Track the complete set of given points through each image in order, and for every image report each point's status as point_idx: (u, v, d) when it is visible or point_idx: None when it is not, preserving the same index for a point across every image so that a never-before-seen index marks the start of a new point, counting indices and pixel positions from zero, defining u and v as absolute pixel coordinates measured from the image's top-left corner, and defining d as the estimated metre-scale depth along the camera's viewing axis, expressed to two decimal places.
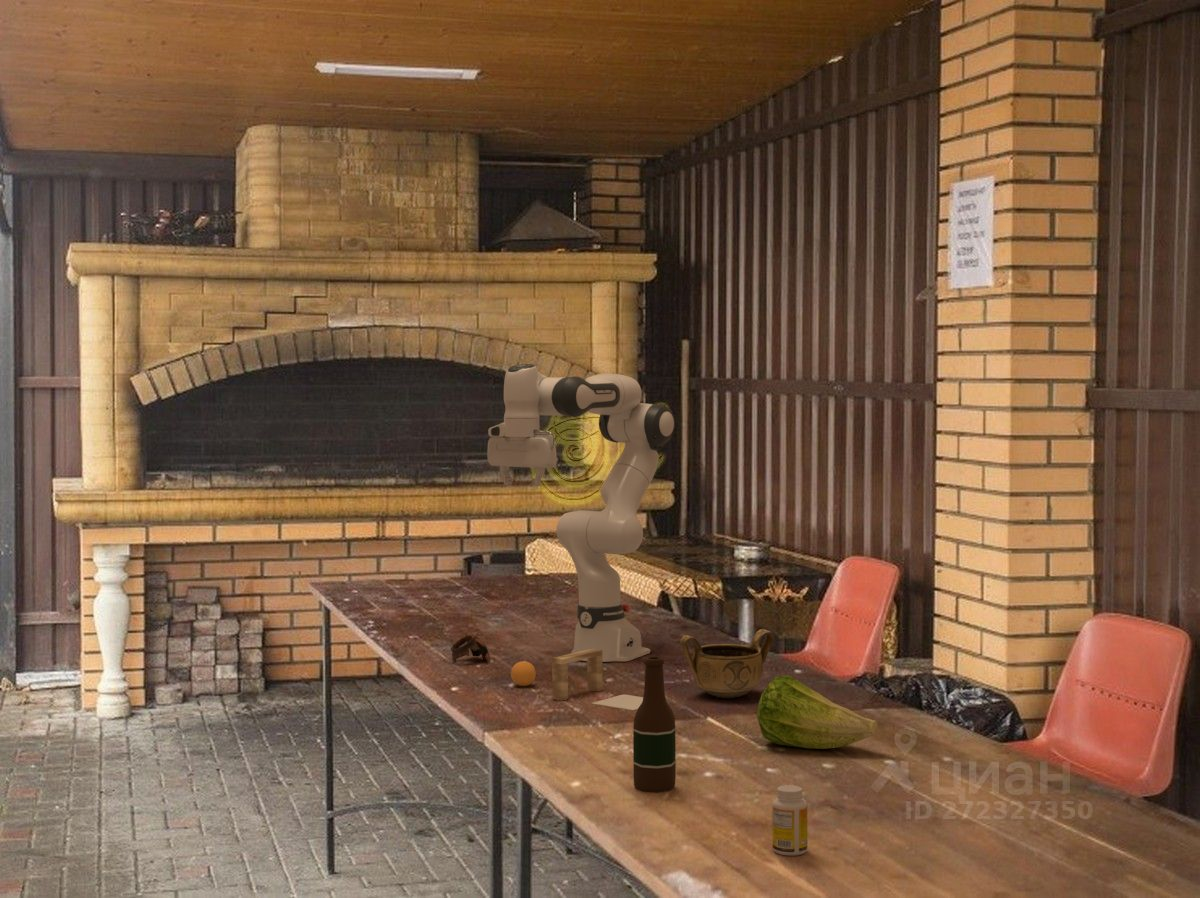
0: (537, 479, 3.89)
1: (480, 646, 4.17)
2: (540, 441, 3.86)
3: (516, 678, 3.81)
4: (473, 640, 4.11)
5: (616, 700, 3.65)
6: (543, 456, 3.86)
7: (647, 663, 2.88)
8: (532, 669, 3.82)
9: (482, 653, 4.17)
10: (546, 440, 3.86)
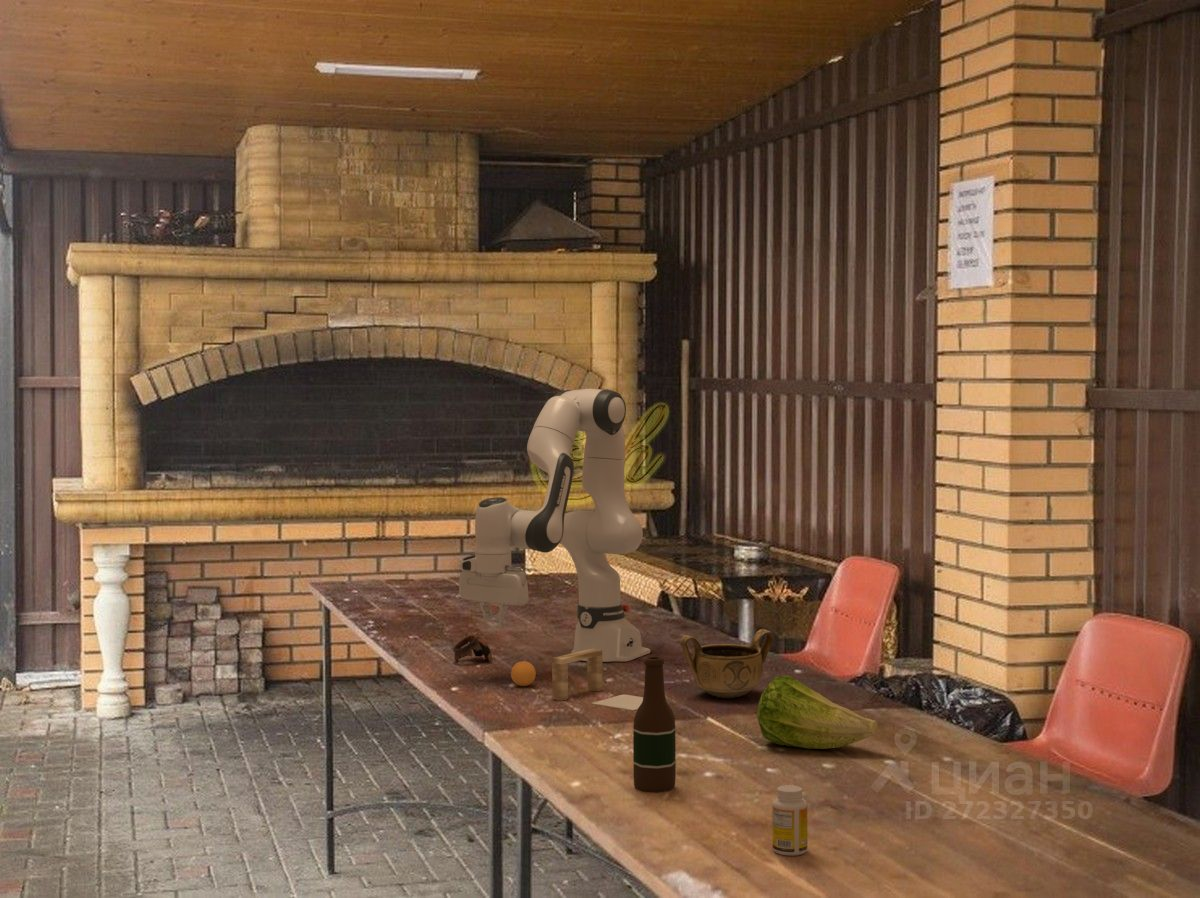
0: (500, 614, 3.86)
1: (482, 646, 4.17)
2: (512, 578, 3.82)
3: (516, 678, 3.81)
4: (476, 640, 4.11)
5: (616, 700, 3.65)
6: (514, 594, 3.81)
7: (647, 663, 2.88)
8: (532, 669, 3.82)
9: (484, 653, 4.17)
10: (517, 577, 3.81)
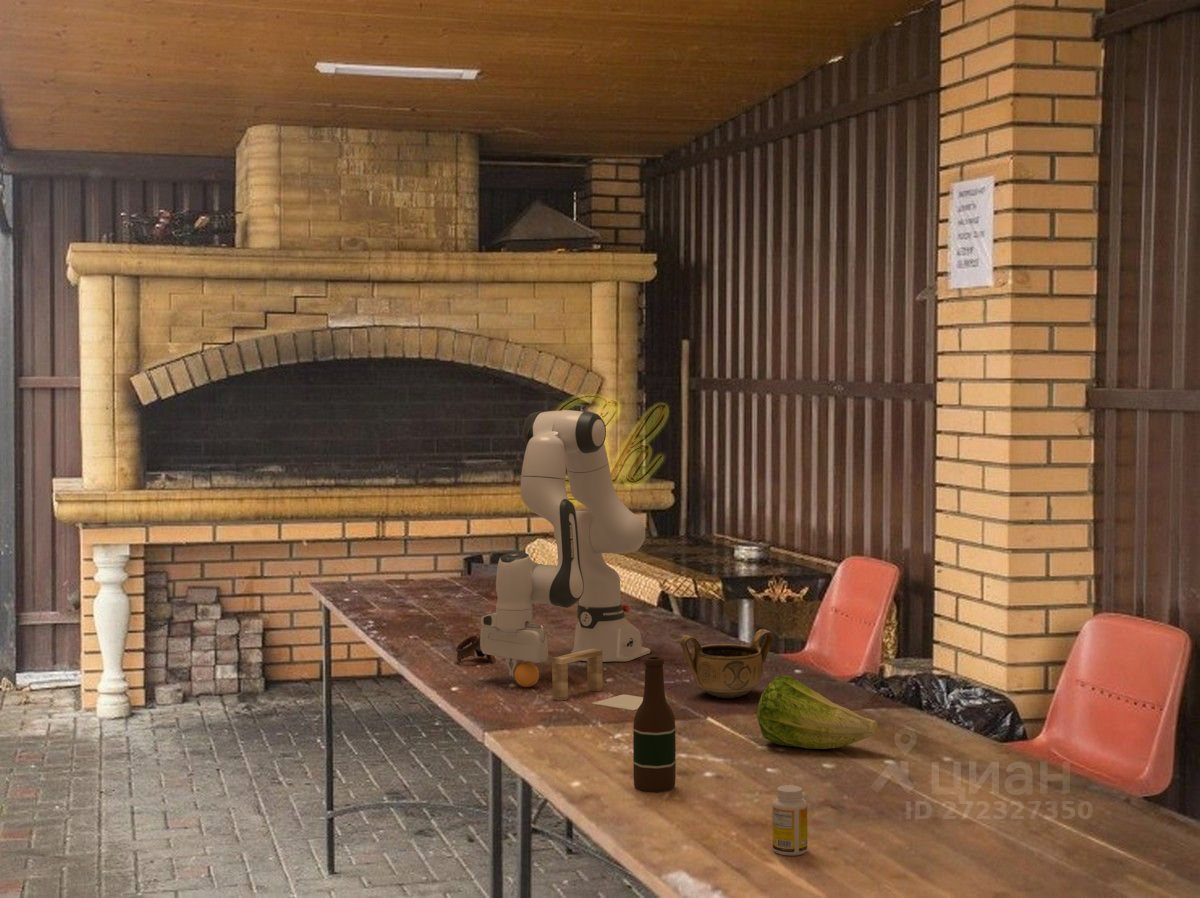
0: (514, 670, 3.83)
1: None
2: (531, 634, 3.77)
3: (520, 680, 3.79)
4: (478, 640, 4.11)
5: (616, 700, 3.65)
6: (533, 651, 3.77)
7: (647, 663, 2.88)
8: (537, 672, 3.80)
9: None
10: (537, 634, 3.77)
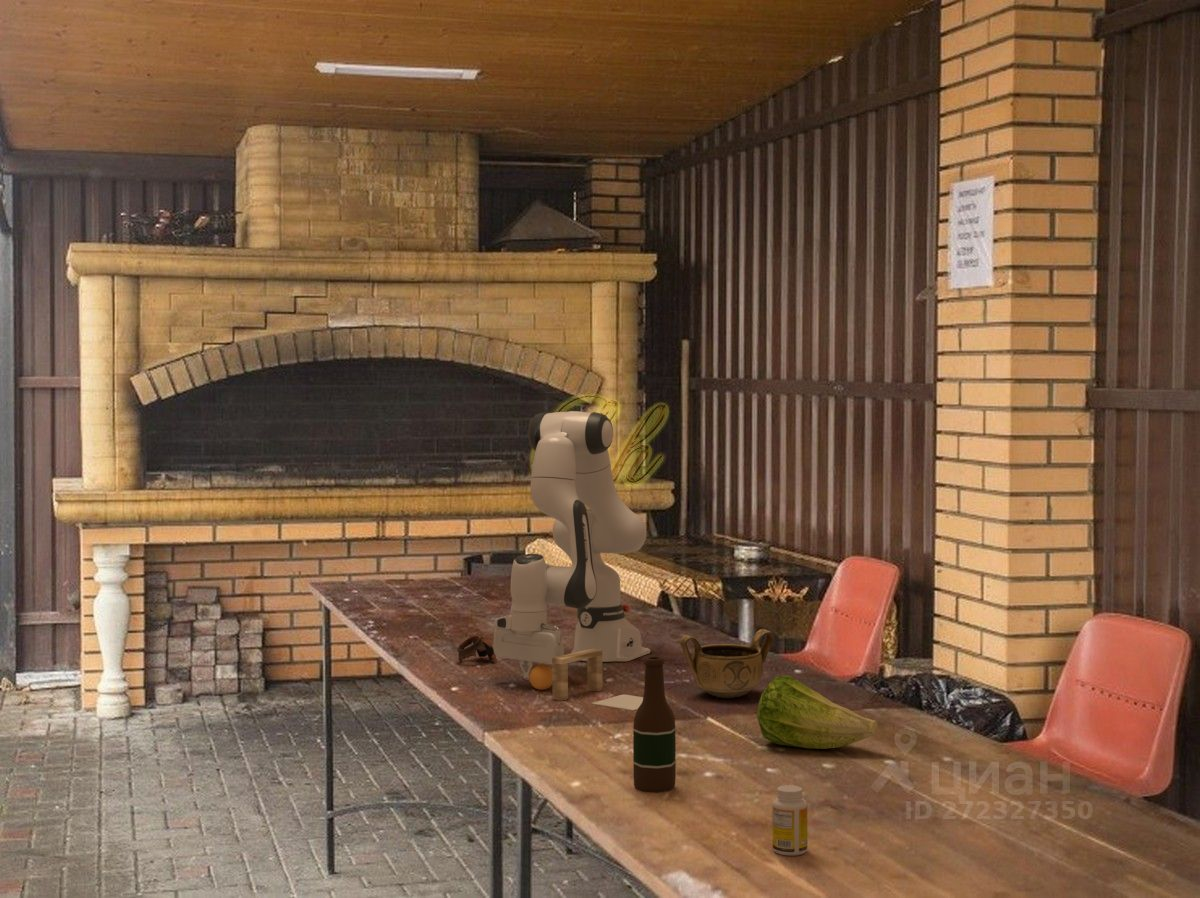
0: None
1: (486, 646, 4.16)
2: (547, 636, 3.74)
3: (535, 683, 3.77)
4: (480, 640, 4.11)
5: (616, 700, 3.65)
6: (549, 653, 3.74)
7: (647, 663, 2.88)
8: (551, 675, 3.77)
9: (488, 653, 4.17)
10: (553, 636, 3.74)
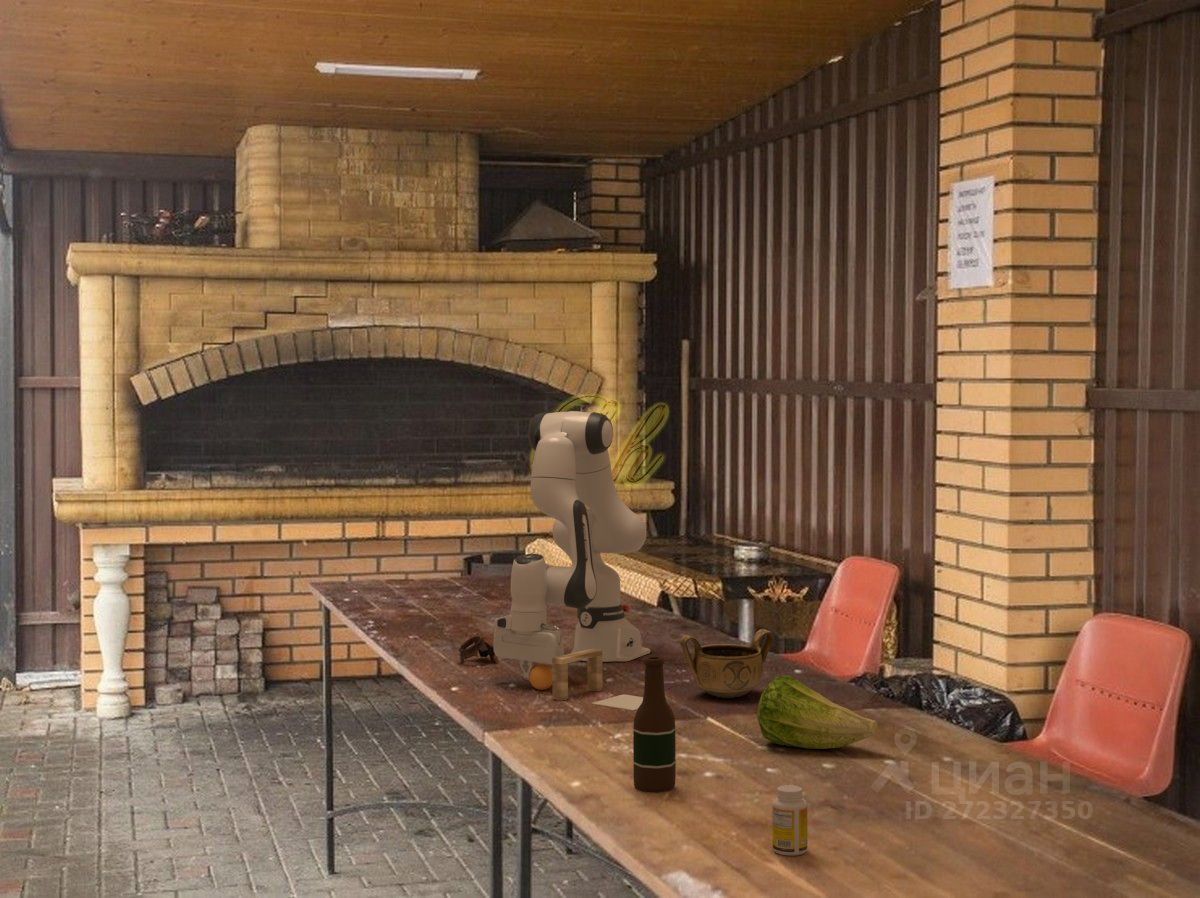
0: None
1: (488, 647, 4.16)
2: (547, 636, 3.74)
3: (535, 683, 3.77)
4: (481, 641, 4.10)
5: (616, 700, 3.65)
6: (549, 653, 3.74)
7: (647, 663, 2.88)
8: None
9: (490, 654, 4.16)
10: (553, 636, 3.74)
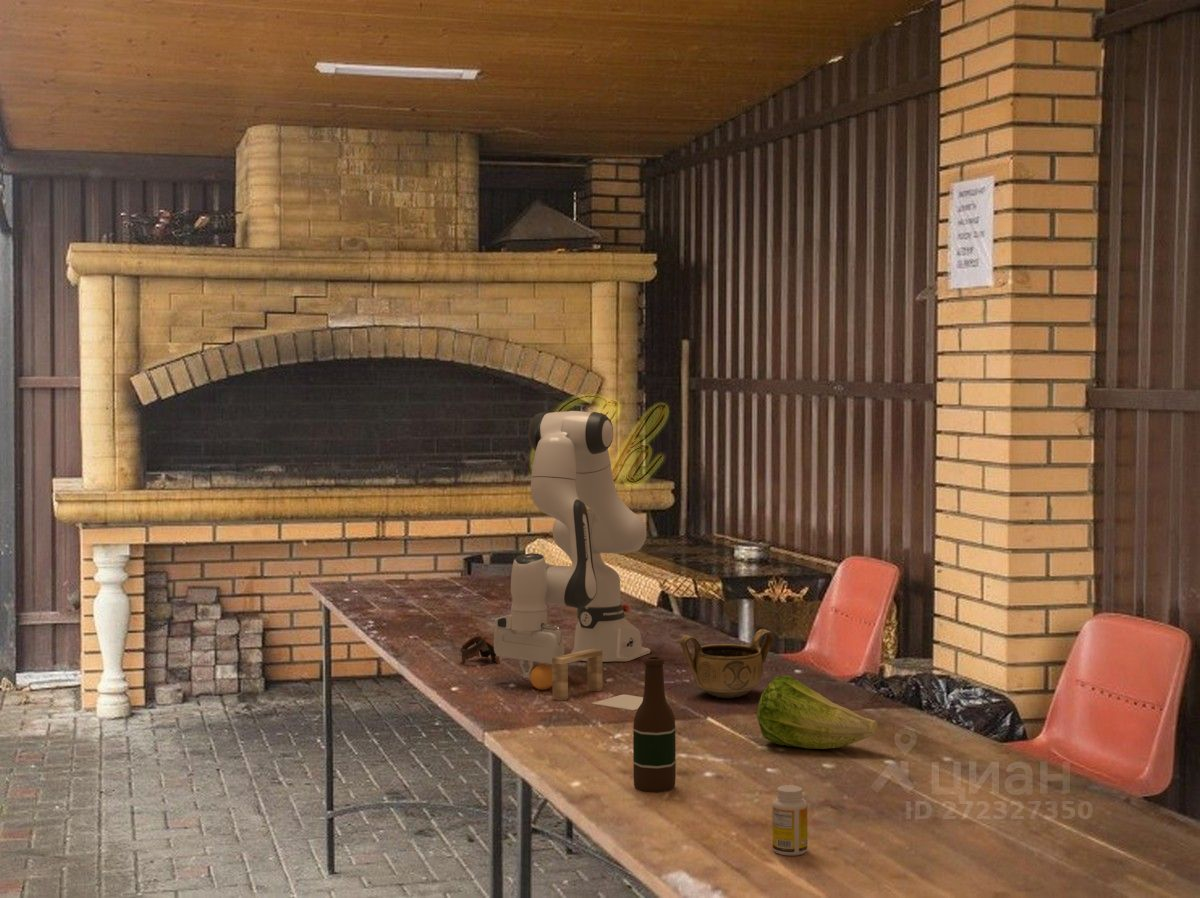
0: (530, 672, 3.80)
1: (489, 647, 4.16)
2: (548, 636, 3.74)
3: (535, 682, 3.77)
4: (483, 641, 4.10)
5: (616, 700, 3.65)
6: (550, 653, 3.74)
7: (647, 663, 2.88)
8: None
9: (491, 654, 4.16)
10: (553, 636, 3.74)
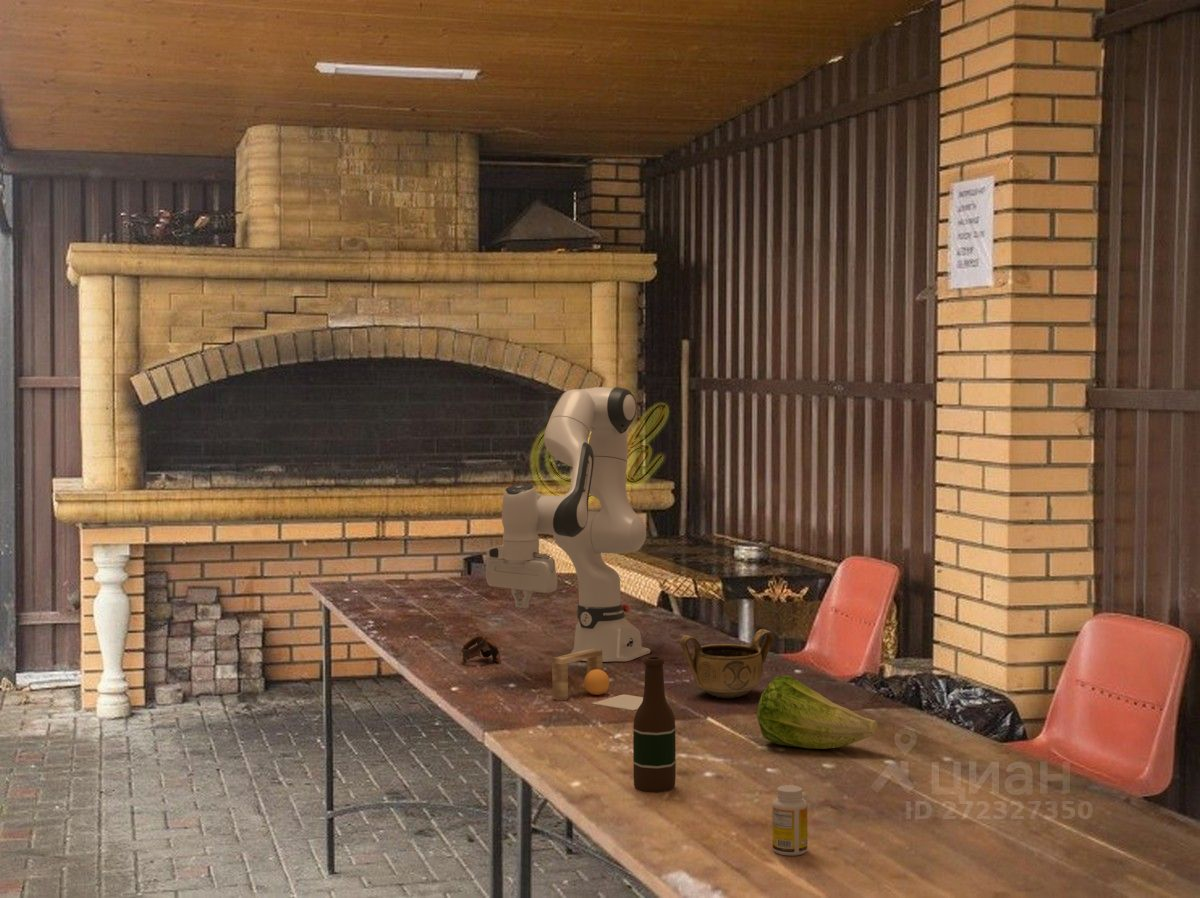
0: (525, 601, 3.84)
1: (490, 647, 4.16)
2: (540, 565, 3.79)
3: (594, 686, 3.69)
4: (484, 641, 4.10)
5: (616, 700, 3.65)
6: (543, 581, 3.79)
7: (647, 663, 2.88)
8: (594, 670, 3.72)
9: (492, 654, 4.16)
10: (546, 564, 3.79)
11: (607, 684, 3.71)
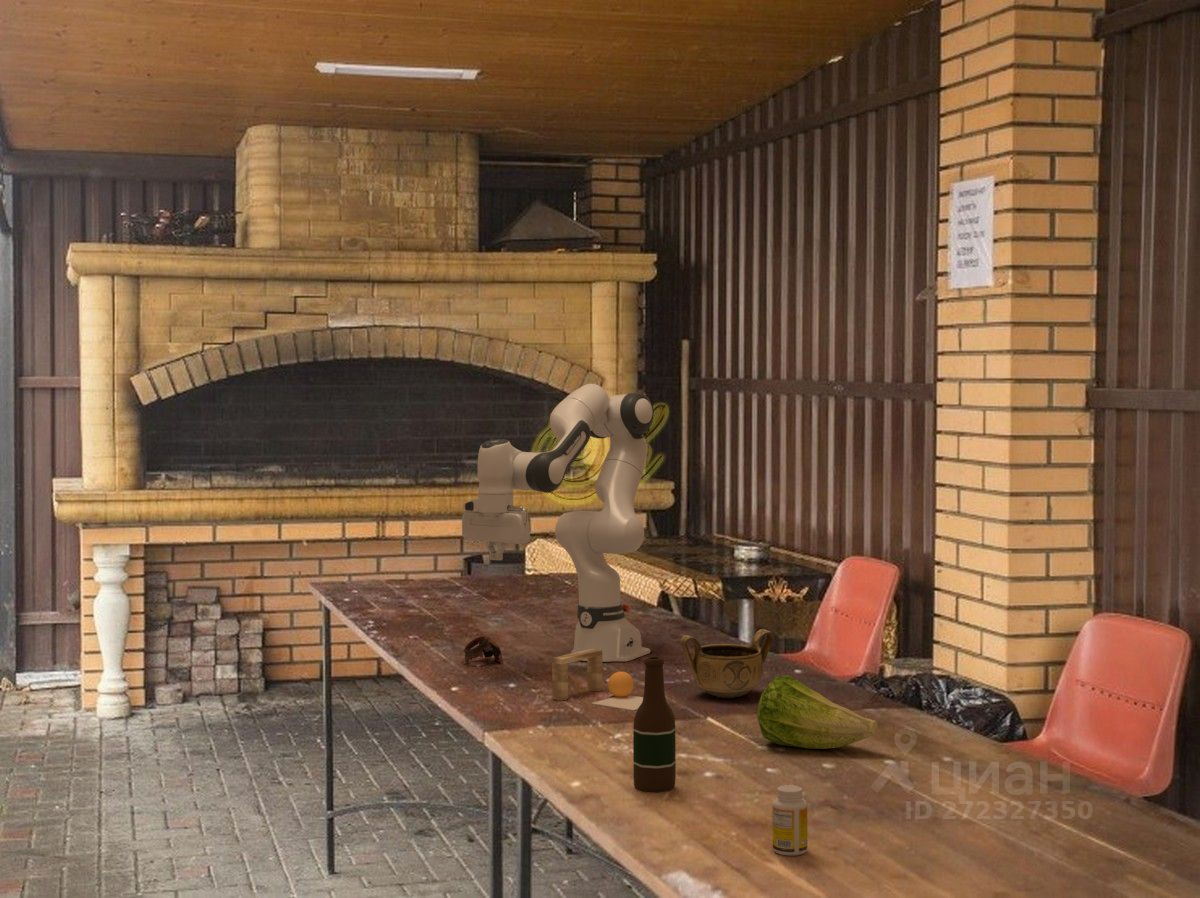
0: (499, 553, 3.94)
1: (492, 647, 4.15)
2: (514, 517, 3.88)
3: (612, 688, 3.67)
4: (486, 641, 4.10)
5: (616, 700, 3.65)
6: (516, 533, 3.88)
7: (647, 663, 2.88)
8: (630, 690, 3.68)
9: (494, 654, 4.16)
10: (519, 516, 3.88)
11: None
